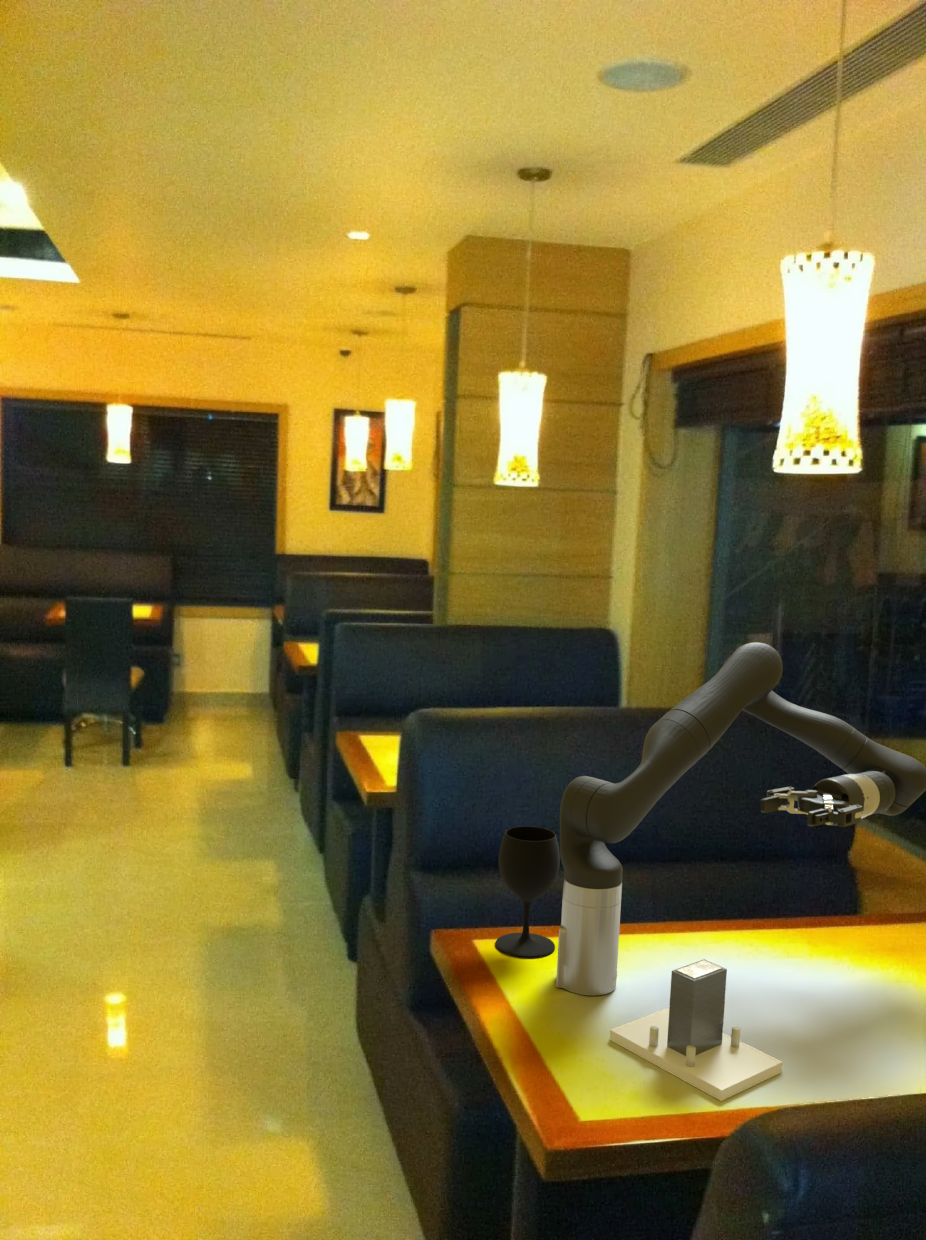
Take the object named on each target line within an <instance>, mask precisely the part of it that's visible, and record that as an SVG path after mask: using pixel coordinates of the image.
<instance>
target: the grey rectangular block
mask: <svg viewBox="0 0 926 1240" xmlns="http://www.w3.org/2000/svg"><path fill="white" fill-rule="evenodd" d="M727 971H728V969H727V968H725V967H723V966H720V965H718V964H716V963H713V962H711V961H709V960H707V959H701V960H698V961H696V962H693V963H690V964H686V965H685V966H682V967H679V968H676V969H673V970H671V974H670V975H671V978H670V991H669V993H670V994H669V1007H668V1008H669V1023H668V1039H667V1047H669V1048H671V1049H673V1050H675V1051H677V1052H679V1053H680V1054H682V1055H684V1056H686V1051H687V1046H688V1045H692V1046H695V1047H696V1053H695V1056H696V1055H698V1054H700V1053H703V1052H705V1051H707V1050H710V1049H712V1048H714V1047H716V1046H719V1045H721V1044H722V1034H723V1033H724V1031H723V1030H724V1018H725V1016H724V1015H725V1003H726V1002H725V1001H726V988H727V986H726V985H727Z"/></svg>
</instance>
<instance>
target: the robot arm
mask: <svg viewBox="0 0 926 1240" xmlns="http://www.w3.org/2000/svg"><path fill="white" fill-rule="evenodd" d="M783 669H784V667H783V660H782V657H781V656H780V653H779V652H778V651H777V650H776V649H775V648H774V647H773V646H771V645H769V644H767V643H764V642H758V641H757V642H756V641H755V642H748V643H745V644H743V645H740V646H739V647H738V648H736V650H735V651H734V652H733V653H732V654H731V655H730V656H729V658H728V659H727V660H726V661H725V662H724V664H723V665H722V667H720V669H719V670H718V672H717V673H716V674H715V675H714V676H713V677H712V678H710V680H708V681H707V682H705V683H704V684H703V685H701V686H700V687H698V688H697V689H695V690H694V691H693V692H692V693H690V694H689V695H687V696H686V697H685V698H684V699H682V700H681V701H680V702H678V703H677V704H676V705H675V706H674V707H672V708H671V709H669V710H668V711H667V712H666V713H665V714H663V716H662V717H660V718H659V719H658V720H657V721H656V722H655V723H654V724H653V725H652V726H651V727H650V728H649V730H648V732H646V735H645V738H644V743H643V749H642V755H641V756H642V757H641V760H640V763H639V766H638V767H637V768H636V769H635V770H634V771H633V772H632V773H631V774H629V776H627V777H625V778H624V779H623V780H622V781H620V782H617V783H614V782H610V781H608V780H607V781H606V780H603V779H601V778H596V777H593V776H587V775H582V776H577V777H575V778H574V779H572V780H571V781H570V782H569V783H568V785H567V786H566V788H565V789H564V792H563V795H562V798H561V802H560V810H559V853H560V861H561V862H560V863H561V864H562V869H563V880H562V886H563V887H562V900H561V902H562V903H561V904H562V905H561V921H560V927H559V930H558V942H557V943H558V945H557V963H556V964H557V965H556V985H555V986H556V988H561V989H565V990H567V991H569V992H571V993H574V994H578V995H581V996H582V995H584V996H603V995H606V994H610V993H612V992H613V991H615V989H616V987H617V978H618V960H619V959H618V958H619V942H620V924H621V907H622V906H621V905H622V890H623V889H622V888H623V873H624V872H623V871H624V869H623V865H622V864H621V862H620V861H619V859H617V857H616V856H615V855H613V853H612V852H611V851H610V850H609V849H608V847H607V846H606V844H616V843H619V842H621V841H623V840H624V839H625V838H627V837H628V836H629V835H631V833H632V832H633V831H634V830H635V829H636V828H637V827H638V825H640V823H641V822H642V821H643V819H645V817H646V815H647V814H648V813H649V812H650V811H651V809H653V807H654V806H655V805H656V804H657V802H658V801H660V799H661V798H662V797H663V796H664V795H665V793H666V792H667V791H668V790H669V789H670V788H671V787H672V786H673V785H675V783H676V782H677V781H678V780H679V779H680V778H681V777H682V776H683V775H684V774H685V773H686V772H687V771H689V769H691V768H692V767H693V766H695V764H697V763H698V762H699V761H700V760H701V759H702V758H703V757H704V756H705V755H706V754H708V752H709V751H710V750H711V749H712V748H713V746H714V745H715V744H716V743H717V742H718V741H719V740H720V739H721V737H722V736H723V735H724V734H725V732H726V731H727V730H728V728H729V727H730V726H731V725H732V724H733V722H734V721H735V720H736V718H738V716H739V715H740V713H742V711H744V712H745V713H747V714H749V715H751V716H753V717H755V718H758V719H759V720H760V721H763V722H765V723H766V724H768V725H770V726H772V727H775V728H777V729H778V730H780V731H782V732H783V733H786V734H787V735H789V736H792V737H793V738H794V739H795V738H796V739H797V740H799V741H801V742H802V743H804V744H805V745H807V746H809V747H811V748H812V749H813V750H815V751H817V752H818V753H819V754H821V756H824V757H825V759H828V760H829V761H831V763H833V764H835V765H836V766H837V767H838V768H840V769H842V770H843V771H844V772H845V773H847V774H841V775H837V776H832V777H828V778H823V779H821V780H819V781H817V782H816V783H815V784H814V786H812V788H811V789H805V790H804V791H803V790H795V787H792V786H786V787H781V788H774V789H768V790H767V791H766V797H764V798H762V799H760V807H759V808H760V812H761V813H764V814H768V813H772V812H776V811H787V812H788V813H789V814H790V815H791V814H793V815H794V814H797V815H799V814H800V815H802V814H803V815H807V816H806V817H807V819H806V825H807V826H808V827H812V828H813V827H816V826H822V825H827V826H837V827H839V828H846V827H848V826H849V827H850V826H853V825H854V824H859V823H861V822H862V819H865V818H866V817H868V816H871V815H875V814H881V815H884V816H885V815H886V816H891V817H893V816H897V815H900V814H902V813H903V812H905V811H906V810H907V809H908V808H909V807H911V805H913V803H914V802H915V801H916V800H917V799H919V798H920V797H921V796H922V795H923V793H924V792H926V766H925V765H924V764H923V763H922V762H920V761H919V760H918V759H916V758H914V757H913V756H910V755H907V754H905V753H902V752H900V751H897V750H895V749H892V748H890V747H887V746H885V745H883V744H881V743H877V742H875V741H874V740H872V739H870V738H869V737H868V736H867V735H865V734H863V733H862V732H861V731H859V730H857V728H855V727H854V726H852V725H850V724H849V723H847V722H846V721H844V720H843V719H840V718H838V717H836V716H834V715H831V714H829V713H824V712H821V711H818V710H813V709H809V708H807V707H803V706H800V705H798V704H795V703H792V702H791V701H788V700H786V699H785V698H783V697H781V696H780V695H778V694H777V693H776V692H775V691H773V690H774V689H775V688H776V686H777V685H778V684H779V682H780V680H781V678H782V675H783V671H784V670H783ZM876 770H877V771H876ZM878 770H879V771H878ZM881 771H882V772H881ZM795 801H796V802H797V808H795V807H794V806H795ZM605 843H606V844H605Z"/></svg>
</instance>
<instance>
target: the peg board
mask: <svg viewBox="0 0 926 1240" xmlns="http://www.w3.org/2000/svg"><path fill="white" fill-rule="evenodd" d="M668 1023H669V1007H666V1008H664V1009H662V1010H661V1009H660V1010H658V1011H656V1012H653V1013H651V1014H648V1015H645V1016H643V1017H640V1018H637V1019H635V1020H633V1021H629V1022H626V1023H624V1024H621V1025H619V1026H616V1027H613V1028H611V1029H609V1040H610V1041H611V1042H613V1043H614V1044H617V1045H619V1046H620V1047H622V1048H624V1049H626V1050H627V1051H629V1052H631V1053H633V1054H635V1055H636V1056H638V1057H640V1058H642V1059H643V1060H645V1061H648V1062H650V1063H651V1064H653V1065H655V1066H656V1067H659V1068H660V1069H662V1070H663V1071H666V1072H668V1073H669V1074H671V1075H672V1076H675V1077H677V1078H678V1079H680V1080H682V1081H684V1082H686V1083H687V1084H689V1085H691V1086H693V1087H695V1088H696V1089H698V1090H700V1091H701V1092H704V1093H706V1094H707V1095H709V1096H711V1097H713V1098H714V1099H716V1100H718V1101H720V1102H722V1101H725V1100H727V1099H729V1098H730V1097H734V1096H735V1095H737V1094H739V1093H742V1092H743V1091H746V1090H748V1089H750V1088H753V1087H754V1086H756V1085H758V1084H760V1083H762V1082H765V1081H766V1080H769V1079H771V1078H773V1077H775V1076H777V1075H779V1074H781V1073H783V1061H781V1060H779V1059H777V1058H775V1057H773V1056H771V1055H769V1054H767V1053H765V1052H763V1051H761V1050H760V1049H757V1048H755V1047H753V1046H751V1045H749V1044H746V1043H744V1042H743V1041H741V1028H740V1027H739V1026H732V1027H731V1031H730V1032H731V1033H730V1034H731V1035H729V1034H727V1033H725V1032H723V1034H722V1044H721V1045H719V1046H716V1047H714V1048H712V1049H710V1050H707V1051H705V1052H703V1053H700V1054H698V1055H696V1056H695V1053H696V1047H695V1046H692V1045H688V1046H687V1051H686V1056H684V1055H682V1054H680V1053H679V1052H677V1051H675V1050H673V1049H671V1048H669V1047H667V1039H668Z"/></svg>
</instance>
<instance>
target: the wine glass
mask: <svg viewBox="0 0 926 1240" xmlns="http://www.w3.org/2000/svg"><path fill="white" fill-rule="evenodd" d="M560 861H561V858H560V845H559V842H558V838H557V834H556V833H555V832H554V831H552V830H550V829H548V828H544V827H540V826H539V827H538V826H530V825H529V826H528V825H525V826H523V825H520V826H514V827H509V828H508V829H506V830H505V831H504V834H503V837H502V840H501V843H500V847H499V853H498V867H499V868H498V869H499V873H500V876H501V878H502V881H503V883H504V884H505V886H506V888H507V889H508V890H509V891H510V892H511V893H512V894H513V895H515V896H516V897H517V898H518V899H519V900H520V901H521V902H522V905H523V925H522V932H510V933H506V934H503V935H501V936H499V937H497V939H496V940H495V947H496V949H497V951H499V952H500V953H503V954H504V955H507V956H511V957H514V958H520V959H539V958H544V957H547V956H550V955H551V954H552V953H554V952H555V949H556V944H555V942H554V941H553V940H552V939H551V938H548V937H546V936H544V935H540V934H537V933H532V932H530V913H531V907H532V903H533V902H534V901H536V900H537V899H538V898H540V897H541V896H543V895H545V894H546V892H548V891H549V890H550V888H552V886H553V885H554V884H555V882H556V880H557V877H558V874H559V869H560V865H561V862H560Z"/></svg>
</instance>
